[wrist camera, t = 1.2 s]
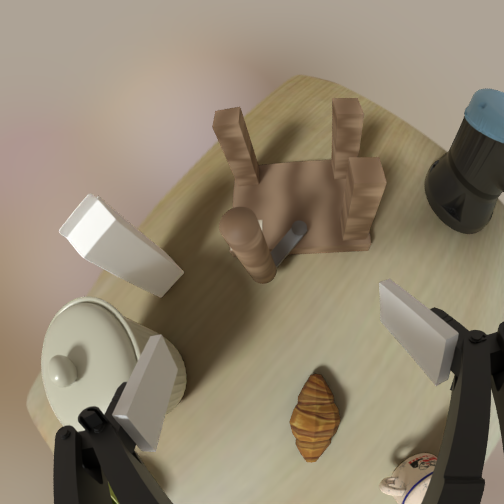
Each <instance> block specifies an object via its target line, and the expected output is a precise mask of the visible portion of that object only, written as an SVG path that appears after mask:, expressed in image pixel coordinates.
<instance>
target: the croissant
mask: <svg viewBox="0 0 504 504" xmlns="http://www.w3.org/2000/svg"><path fill="white" fill-rule="evenodd" d="M339 423H340V416H339V411H338V408H337V406H336V405H335V403H334V396H333V394H332V392H331V390H330V389H329V387H328V385H327V383H326V382H325V380H324V378H323V377H322V375H320V374H313V375H310V377H309V378H308V380H307V381H306V383H305V385H304V387H303V388H302V390H301V392H300V394H299V396H298V404H297V405H296V407H295V408H294V410H293V413H292V416H291V419H290V425H291V429H292V433H293V435H294V436H295V438H296V446H297V447H298V449H299V451H300V453H301V455H302V456H303V457H304V459H305V460H306V462H316V461H317V459H318V458H319V457H320V456H321V455H322V454H323V452H324V451H325V450H326V449H327V447H328V446H329V445H330V443H331V438H332V436H333V435H334V434H335V433H336V432H337V429H338V426H339Z"/></svg>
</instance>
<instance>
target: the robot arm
mask: <svg viewBox="0 0 504 504" xmlns="http://www.w3.org/2000/svg"><path fill="white" fill-rule="evenodd" d="M464 114H465V116H464V119H463V121H462V124H461V126H460V128H459V130H458V133H457V135H456V137H455V139H454V141H453V143H452V146H451V148H450V150H449V151H448V152H447V153H446V154H445V155H443V156H442V157H441V158H440V159H439V160H437V161H436V162H435V163H434V164H433V165H432V166H431V168H430V169H429V171H428V174H427V176H426V179H425V192H426V196H427V199H428V201H429V204H430V206H431V207H432V209H433V210H434V212H435V213H436V215H437V216H438V217H439V218H440V219H441V220H442V221H443V222H444V223H445V224H446V225H448V226H449V227H451V228H452V229H454V230H456V231H458V232H461V233H466V234H473V233H476V232H479V231H480V230H482V229H483V228H484V227H485V226H486V225H487V224H488V222H489V221H490V219H491V217H492V214H493V210H494V207H495V205H496V202H497V199H498V197H499V196H500V194H501V193H502V192H504V93H503V92H500V91H498V90H493V89H481V90H478V91H477V92H476V93H475V94H474V95H473V97H472V99H471V101H470V104H469V106H468V107H467V108H466V110H465V113H464ZM379 290H380V321H381V322H382V324H383V325H384V326H385V327H386V328H387V329H388V330H389V331H390V333H391V334H392V335H393V336H394V337H395V338H396V339H397V341H398V342H399V343H400V344H401V345H402V346H403V347H404V349H405V350H406V351H407V352H408V353H409V354H410V356H411V357H412V358H413V359H414V360H415V361H416V363H417V364H418V365H419V366H420V367H421V369H422V370H423V371H424V372H425V373H426V375H427V376H428V377H429V378H430V379H431V381H432V382H433V383H434V384H435V386H437V385H439V384H441V383H442V382H444V381H446V380H448V378H449V374H450V370H451V371H452V372H453V373H454V374H455V376H454V379H453V383H452V386H451V389H450V390H452V394H451V400H450V406H449V412H448V417H447V422H446V427H445V431H444V436H443V440H442V444H441V447H440V451H439V455H438V458H437V461H436V465H435V468H434V471H433V474H432V477H431V480H430V483H429V485H428V488H427V491H426V493H425V496H424V498H423V501H422V503H421V504H480V502H481V498H482V495H483V491H484V485H485V480H484V479H483V478H482V470H483V466H484V460H485V455H486V448H487V441H488V433H489V422H490V407H491V389H492V393H493V397H494V401H495V405H496V410H497V414H498V419H499V425H500V430H501V436H502V443H503V451H504V322H502V323H501V324H500V325H499V328H498V332H496V333H492V334H489V335H486V334H485V333H484V332H482V331H479V330H472V331H468V330H467V329H466V328H465V327H463V326H462V325H461V324H460V323H458V322H457V321H456V320H455V319H454V320H453V318H452V317H451V316H449V315H448V314H447V313H446V312H444V311H443V310H440V309H438V308H435V307H434V308H432V309H429V308H427V307H426V306H425V305H424V304H422V303H421V302H420V301H418V300H417V299H416V298H415V297H413V296H412V295H411V294H409V293H408V292H407V291H405V290H404V289H403V288H401V287H400V286H399V285H397V284H396V283H395V282H393V281H392V280H391V279H388V280H385V281H381V282H379ZM177 371H178V368H177V366H176V364H175V362H174V360H173V358H172V356H171V354H170V352H169V350H168V347H167V345H166V343H165V341H164V339H163V336H162V334H161V335H154V336H150V338H149V340H148V342H147V344H146V346H145V348H144V350H143V352H142V354H141V356H140V358H139V360H138V362H137V364H136V366H135V368H134V370H133V372H132V374H131V376H130V378H129V380H128V382H123V383H122V384H121V385H120V386H119V387H118V388H117V390H116V392H115V394H114V396H113V398H112V401H111V402H110V404H109V406H108V408H107V410H106V412H105V414H103V412H102V411H101V410H100V409H99V407H96V406H91V407H88V408H86V409H84V410H83V411H82V412H81V413H80V414H79V416H78V422H79V423H80V424H81V426H82V427H83V428H84V429H85V430H84V431H79V432H77V430H76V429H75V428H74V427H73V426H71V425H66V426H64V427H62V428H60V429H59V430H58V432H57V433H56V436H55V449H54V504H112V499H111V495H110V490H109V485H110V487H111V489H112V491H113V492H114V494H115V496H116V498H117V500H118V502H119V504H173V503H172V502H171V500H170V499H169V498H168V497H167V495H166V494H165V493H164V492H163V490H162V489H161V488H160V486H159V485H158V483H157V482H156V481H155V479H154V478H153V477H152V475H151V474H150V472H149V471H148V469H147V468H146V466H145V465H144V463H143V462H142V460H141V459H140V457H139V456H138V454H137V453H136V452H135V451H134V449H135V446H136V445H137V446H138V447H139V448H140V450H141V451H150V452H156V449H157V445H158V441H159V437H160V433H161V429H162V425H163V421H164V418H165V414H166V410H167V407H168V403H169V399H170V396H171V392H172V389H173V385H174V382H175V378H176V375H177ZM108 482H109V485H108Z"/></svg>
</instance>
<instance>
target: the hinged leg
mask: <svg viewBox="0 0 504 504" xmlns="http://www.w3.org/2000/svg"><path fill="white" fill-rule="evenodd" d="M219 230H220V233H221V235H222V236H223V238H224V239H225V240H226V242H227V243H228V245H229V246H230V247H231V249H232V250H233V252H234V253H235V254H236V256H237V257H238V259H239V260H240V261H241V263H242V264H243V266H244V267H245V268H246V270H247V271H248V273H249V274H250V275H251V277H252V278H253V279H254V280H255V281H256V282H258V283H261V284H265V283H268V282H270V281H272V280H273V279H274V277H275V275H276V271H277V270H276V268H277V267H278V266H279V265H280V264H281V262H282V261H283V260H284V259H285V258H286V256H287V255H288V254H289V253H290V252H291V250H292V249H293V248H294V247H295V246H296V244H297V243H298V242H299V241H300V240H301V238H302V237H303V236H305V235H306V233H307V225H306V223H305V222H303V221H295V222H294V223H293V224H292V228H291V229H290V230H289V231H288V232H287V234H286V235H285V236H284V237H283V238H282V239H281V241H280V242H279V243H278V244H277V245H276V247H275V248H274V249H273V250H272V251H271V252H270V250H269V247H268V245H267V242H266V240H265V237H264V235H263V232H262V230H261V227H260V224H259V222H258V219H257V217H256V215H255V213H254V212H253V211H252V210H251V209H249V208H246V207H235V208H232V209H230V210H228V211H227V212H226V213H225V214H224V215H223V216H222V218H221V220H220V223H219Z"/></svg>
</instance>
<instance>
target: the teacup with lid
mask: <svg viewBox="0 0 504 504" xmlns="http://www.w3.org/2000/svg"><path fill="white" fill-rule="evenodd" d="M436 461H437V457H436V456H434V455H433V454H430V453H421V454H417V455H414V456H412V457H410V458H408V459H407V460H405V461H404V462H402V463H401V464H400V465H399V466H398V467H397V468H396V470H395V471H394V472H393V474H392V476H391V477H387V478H384V479H383V480H382V481H381V483H380V485H379V488H380V490H381V491H382V492H384V493H386V494H389V495H393V497H394V498H395V500H396V502H397V503H398V504H421V503H422V501H423V498H424V496H425V493H426V491H427V488H428V485H429V483H430V480H431V477H432V474H433V471H434V468H435V465H436ZM388 484H389V485H388Z"/></svg>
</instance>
